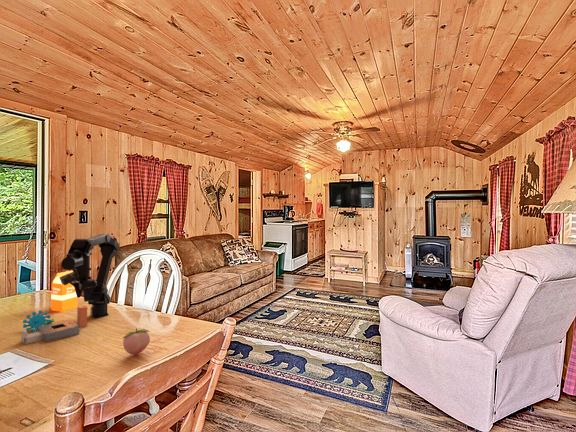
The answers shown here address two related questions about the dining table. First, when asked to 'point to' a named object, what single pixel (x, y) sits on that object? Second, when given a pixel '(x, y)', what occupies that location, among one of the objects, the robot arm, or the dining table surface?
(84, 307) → the terracotta rectangular prism
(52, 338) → the grey square hole block
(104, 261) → the robot arm
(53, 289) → the orange juice
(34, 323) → the gear
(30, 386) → the dining table surface
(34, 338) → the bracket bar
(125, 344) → the decorative fruit
